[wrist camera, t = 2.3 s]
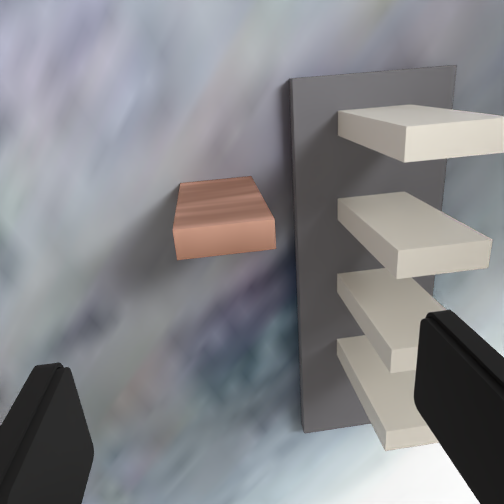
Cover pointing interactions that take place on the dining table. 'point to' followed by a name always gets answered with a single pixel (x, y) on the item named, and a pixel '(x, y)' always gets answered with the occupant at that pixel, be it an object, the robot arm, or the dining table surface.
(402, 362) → the domino
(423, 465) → the dining table surface
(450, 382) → the robot arm
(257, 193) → the domino
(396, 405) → the domino
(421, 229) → the domino
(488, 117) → the domino
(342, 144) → the mat
